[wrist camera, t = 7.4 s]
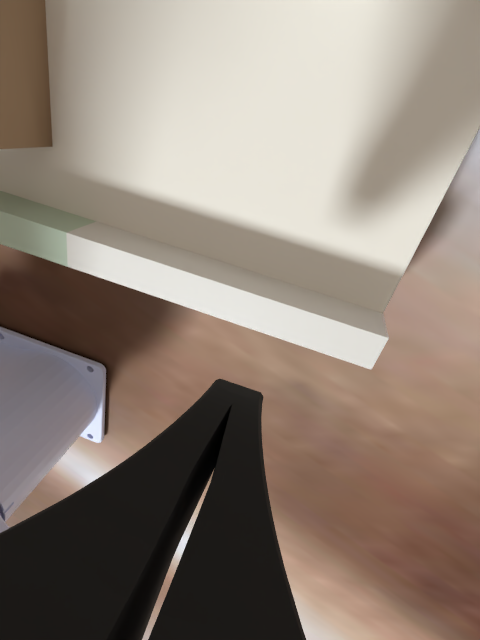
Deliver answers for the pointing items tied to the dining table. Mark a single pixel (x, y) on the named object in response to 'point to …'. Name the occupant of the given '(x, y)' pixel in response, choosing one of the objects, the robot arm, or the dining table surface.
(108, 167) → the tray
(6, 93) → the walnut block
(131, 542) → the robot arm
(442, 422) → the dining table surface
